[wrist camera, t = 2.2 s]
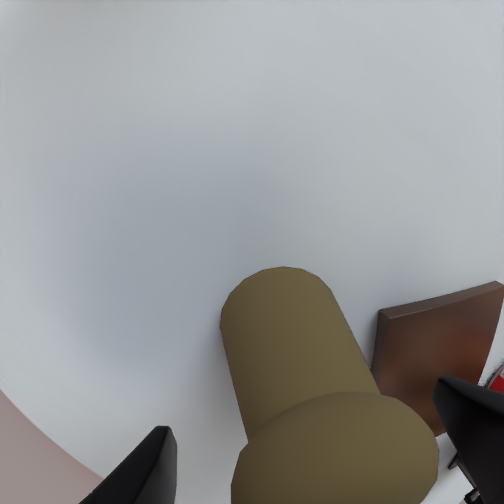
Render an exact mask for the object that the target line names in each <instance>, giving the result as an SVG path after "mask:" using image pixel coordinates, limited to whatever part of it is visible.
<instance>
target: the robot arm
mask: <svg viewBox="0 0 504 504" xmlns="http://www.w3.org/2000/svg"><path fill="white" fill-rule="evenodd" d="M432 401H433V404H434V406H435V408H436V410H437V412H438V415H439V417H440V419H441V421H442V424H443V426H444V428H445V430H446V432H447V434H448V436H449V438H450V439H451V441H452V443H453V445H454V446H455V448H456V450H457V452H458V453H457V455H456V456H455V458H454V459H453V461H452V462H451V464H450V465H449V467H448V469H449V470H451V469H453V468H454V467H456V466H458V467H459V468H460V470H461V471H462V472H463V474H464V475H465V477H466V478H467V479H468V481H469V482H470V484H471V485H472V486H473V488H474V489H473V490H472V491H471V492H469V493H467V494H466V495H465V498H464V500H465V502H466V503H467V504H504V393H501V392H498V391H494V390H491V389H488V388H485V387H482V386H479V385H476V384H473V383H470V382H467V381H464V380H461V379H459V378H456V377H453V376H450V375H444V376H442V377H440V378H438V379H437V381H436V384H435V387H434V390H433V392H432ZM176 486H177V443H176V440H175V437H174V435H173V432H172V430H171V428H170V427H169V426H156V427H155V428H154V429H153V430H152V431H151V432H150V433H149V434H148V435H147V436H146V437H145V438H144V440H143V441H142V442H141V443H140V444H139V445H138V446H137V447H136V448H135V449H134V450H133V451H132V452H131V453H130V454H129V455H128V456H127V457H126V458H125V459H124V460H123V461H122V462H121V463H120V464H119V465H118V466H117V467H116V468H115V469H114V470H113V471H112V472H111V473H110V474H109V475H108V476H107V477H106V478H105V479H104V480H103V481H102V482H101V483H100V484H99V485H98V486H97V487H96V488H95V489H94V490H93V491H92V493H90V494H89V495H88V496H87V497H86V498H85V499H83V500H82V501H81V502H80V503H79V504H174V502H175V495H176ZM478 494H480V495H479V496H478Z"/></svg>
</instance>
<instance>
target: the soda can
mask: <svg viewBox="0 0 504 504" xmlns="http://www.w3.org/2000/svg"><path fill="white" fill-rule="evenodd" d="M487 388H488V389H491V390H494V391H498V392H501V393H504V364H503V365H502V366H501V367H500V368H499V369H498V371H497V372H496V373H495V374H494V376H493V377H492V379H491V380H490V382H489V384H488V386H487Z"/></svg>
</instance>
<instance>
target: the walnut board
mask: <svg viewBox="0 0 504 504" xmlns="http://www.w3.org/2000/svg"><path fill="white" fill-rule="evenodd" d="M503 299H504V285H503V284H501V283H499V282H497V281H494V282H491V283H488V284H484V285H481V286H477V287H474V288H470V289H467V290H463V291H459V292H455V293H451V294H447V295H443V296H439V297H435V298H431V299H427V300H423V301H418V302H414V303H409V304H405V305H400V306H395V307H390V308H385V309H380V310H379V318H378V327H377V335H376V343H375V350H374V356H373V363H372V369H371V374H372V376H373V378H374V380H375V382H376V385H377V387H378V389H379V391H380V394H381V395H384V396H389V397H393V398H397V399H398V400H400V401H401V402H403V403H404V404H406V405H407V406H409V407H410V408H412V409H413V410H414V411H415V412H416V413H417V414H418V415H419V416H420V417H421V418H422V419H423V420H424V421H425V423H426V424H427V425H428V426H429V428H430V429H431V430H432V432H433V433H434V436H435V437H437V436H439V435H441V434H443V433H445V432H446V430H445V428H444V426H443V424H442V421H441V419H440V417H439V415H438V412H437V410H436V408H435V406H434V404H433V401H432V392H433V390H434V387H435V384H436V381H437V379H438V378H440V377H442V376H444V375H450V376H453V377H456V378H459V379H461V380H464V381H467V382H470V383H473V384H476V385H477V384H478V382H479V379H480V377H481V374H482V372H483V369H484V366H485V363H486V360H487V358H488V355H489V352H490V348H491V345H492V342H493V339H494V335H495V332H496V328H497V324H498V321H499V317H500V313H501V308H502V304H503Z"/></svg>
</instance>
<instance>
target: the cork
mask: <svg viewBox="0 0 504 504" xmlns="http://www.w3.org/2000/svg"><path fill="white" fill-rule="evenodd" d="M220 330H221V334H222V339H223V343H224V348H225V352H226V356H227V361H228V365H229V369H230V373H231V377H232V381H233V386H234V390H235V394H236V398H237V401H238V405H239V409H240V413H241V417H242V421H243V424H244V428H245V432H246V435H247V439H248V444H247V445H246V446H245V447H244V448H243V449H242V451H241V452H240V454H239V457H238V461H237V464H236V468H235V471H234V475H233V479H232V483H231V504H420V503H421V502H422V501H423V500H424V498H425V497H426V496H427V494H428V493H429V491H430V490H431V488H432V487H433V485H434V484H435V482H436V481H437V475H438V463H439V448H438V445H437V442H436V439H435V436H434V433H433V432H432V430H431V429H430V428H429V426H428V425H427V424H426V423H425V421H424V420H423V419H422V418H421V417H420V416H419V415H418V414H417V413H416V412H415V411H414V410H413V409H412V408H410V407H409V406H407V405H406V404H404V403H403V402H401V401H400V400H398V399H397V398H393V397H389V396H384V395H381V394H380V391H379V389H378V387H377V385H376V382H375V380H374V378H373V376H372V374H371V371H370V369H369V367H368V365H367V363H366V361H365V359H364V356H363V354H362V352H361V350H360V348H359V346H358V344H357V342H356V340H355V338H354V336H353V333H352V331H351V329H350V327H349V325H348V323H347V321H346V319H345V317H344V315H343V313H342V311H341V309H340V307H339V305H338V303H337V301H336V299H335V298H334V296H333V294H332V292H331V290H330V289H329V288H328V286H327V285H326V284H325V283H324V282H323V281H322V280H321V279H320V278H319V277H317V276H315V275H313V274H311V273H309V272H307V271H305V270H303V269H298V268H290V267H277V268H271V269H266V270H262V271H260V272H258V273H256V274H254V275H252V276H250V277H248V278H246V279H244V280H243V281H242V282H241V283H240V284H239V285H238V286H237V287H236V288H235V289H234V290H233V291H232V292H231V293H230V295H229V297H228V299H227V301H226V303H225V305H224V307H223V308H222V313H221V321H220Z"/></svg>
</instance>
